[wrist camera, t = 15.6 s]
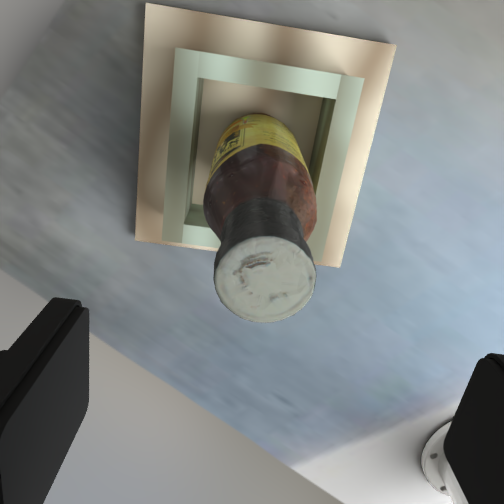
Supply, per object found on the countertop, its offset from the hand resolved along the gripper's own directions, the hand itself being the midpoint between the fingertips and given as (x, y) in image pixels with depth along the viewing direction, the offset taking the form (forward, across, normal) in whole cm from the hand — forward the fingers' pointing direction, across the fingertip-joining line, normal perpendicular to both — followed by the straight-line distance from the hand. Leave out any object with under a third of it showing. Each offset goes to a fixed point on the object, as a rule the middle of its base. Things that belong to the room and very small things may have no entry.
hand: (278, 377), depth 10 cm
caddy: (+28, 0, 0) cm, 28 cm away
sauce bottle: (+27, 0, 0) cm, 27 cm away
